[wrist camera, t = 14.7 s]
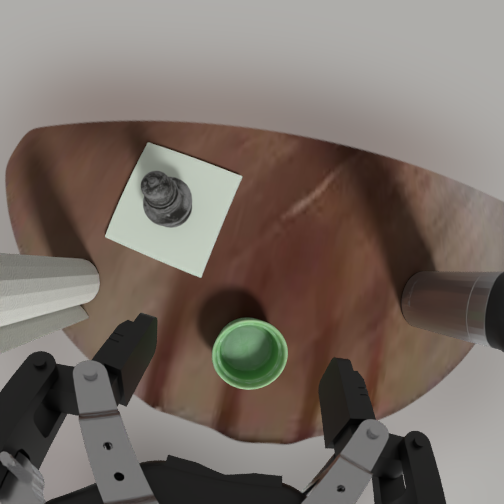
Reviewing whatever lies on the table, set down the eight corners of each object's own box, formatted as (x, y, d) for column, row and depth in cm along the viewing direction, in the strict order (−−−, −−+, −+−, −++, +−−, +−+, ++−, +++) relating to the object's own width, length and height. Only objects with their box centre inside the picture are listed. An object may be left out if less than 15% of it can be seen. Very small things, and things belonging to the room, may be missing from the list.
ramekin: (280, 373, 36) (288, 385, 32) (214, 378, 35) (214, 391, 31) (279, 311, 36) (287, 317, 32) (210, 314, 35) (209, 321, 31)
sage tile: (241, 178, 37) (242, 176, 36) (201, 277, 35) (200, 277, 34) (149, 144, 35) (148, 142, 34) (106, 237, 34) (104, 236, 33)
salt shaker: (158, 180, 34) (134, 142, 22) (200, 191, 35) (193, 156, 23) (143, 223, 34) (110, 203, 22) (186, 235, 35) (171, 220, 23)
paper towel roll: (74, 251, 33) (-37, 237, 12) (107, 271, 34) (0, 275, 13) (57, 296, 32) (-51, 316, 11) (89, 317, 33) (-14, 360, 12)
